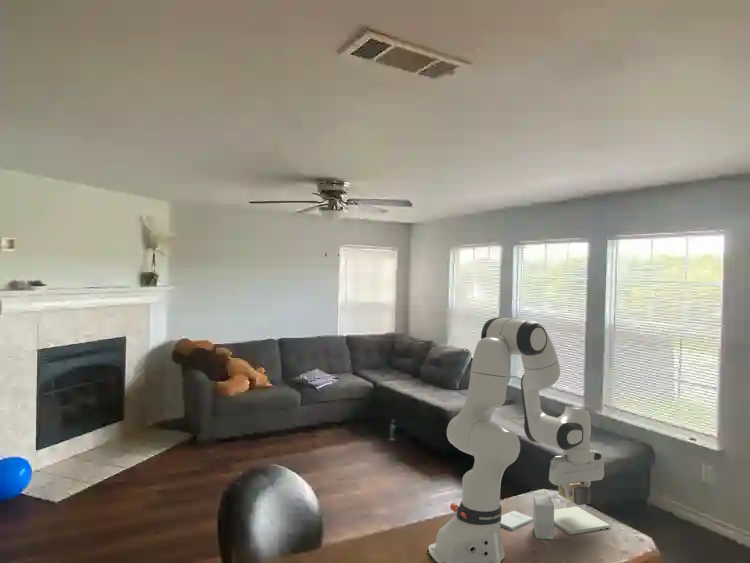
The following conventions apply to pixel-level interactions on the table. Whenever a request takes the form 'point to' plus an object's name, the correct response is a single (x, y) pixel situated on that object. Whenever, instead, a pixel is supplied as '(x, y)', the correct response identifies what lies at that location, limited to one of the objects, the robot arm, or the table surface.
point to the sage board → (577, 520)
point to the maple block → (576, 493)
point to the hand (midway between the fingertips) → (576, 494)
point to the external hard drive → (514, 520)
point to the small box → (543, 518)
